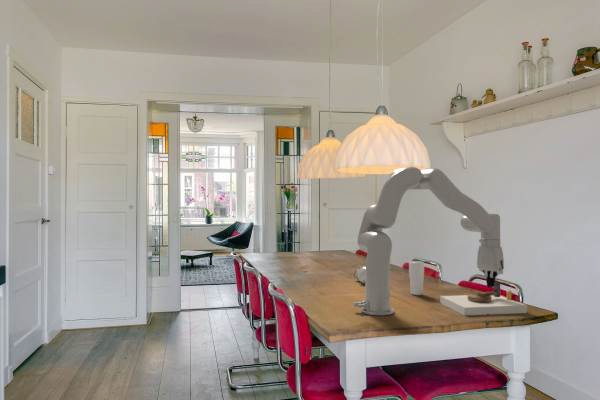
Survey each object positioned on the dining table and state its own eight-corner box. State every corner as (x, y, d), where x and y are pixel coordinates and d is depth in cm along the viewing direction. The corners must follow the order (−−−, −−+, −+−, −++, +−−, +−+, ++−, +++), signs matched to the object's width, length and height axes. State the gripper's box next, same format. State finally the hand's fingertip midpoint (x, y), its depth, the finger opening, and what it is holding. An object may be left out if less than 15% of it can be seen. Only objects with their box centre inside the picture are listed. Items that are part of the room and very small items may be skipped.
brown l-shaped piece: (478, 303, 176) (478, 286, 176) (462, 298, 184) (462, 282, 184) (507, 300, 181) (507, 283, 181) (491, 295, 189) (491, 279, 189)
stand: (464, 315, 170) (464, 298, 170) (440, 303, 190) (440, 287, 190) (526, 312, 174) (526, 296, 174) (496, 301, 193) (497, 286, 193)
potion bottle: (369, 288, 226) (357, 286, 240) (382, 276, 229) (370, 275, 243) (358, 274, 225) (347, 273, 240) (372, 262, 228) (360, 261, 242)
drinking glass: (412, 292, 212) (412, 260, 212) (426, 294, 207) (426, 261, 207) (406, 294, 206) (406, 262, 206) (420, 296, 202) (420, 263, 202)
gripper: (469, 242, 192) (470, 284, 192) (500, 245, 179) (501, 290, 179) (481, 241, 196) (481, 282, 196) (512, 244, 183) (512, 288, 183)
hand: (490, 286), depth 187 cm, fingers closed
